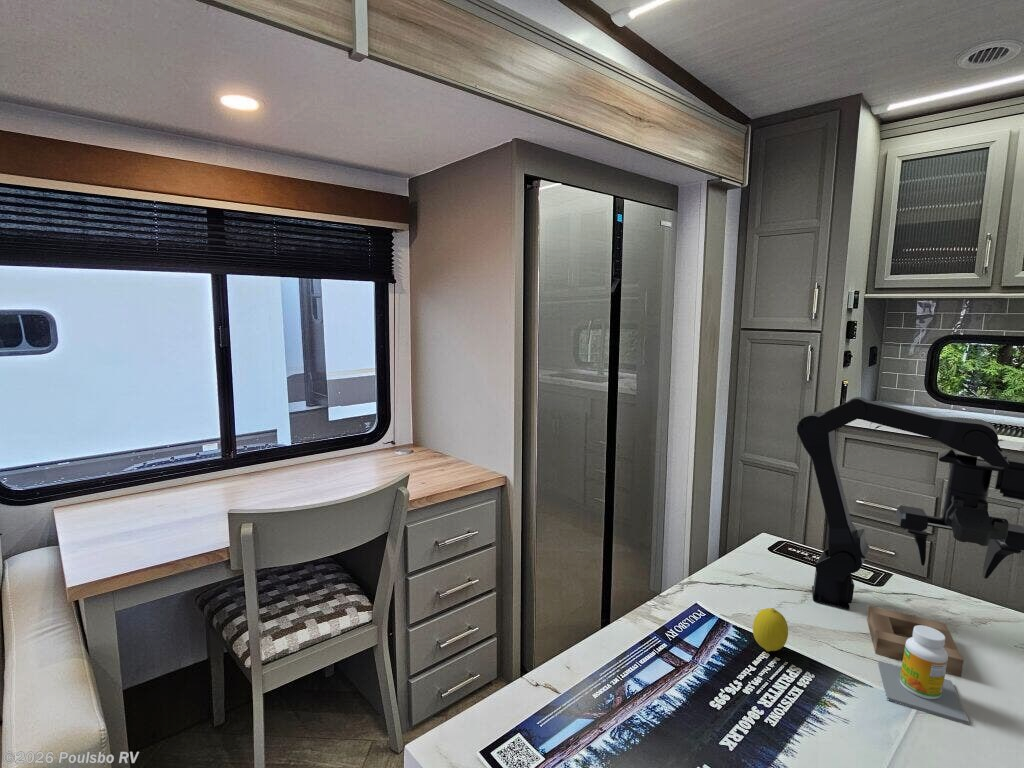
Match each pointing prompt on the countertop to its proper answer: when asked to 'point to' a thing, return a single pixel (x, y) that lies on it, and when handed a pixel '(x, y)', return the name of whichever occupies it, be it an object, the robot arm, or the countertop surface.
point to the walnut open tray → (893, 645)
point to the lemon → (770, 629)
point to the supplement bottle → (924, 663)
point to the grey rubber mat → (942, 706)
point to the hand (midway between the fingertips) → (952, 571)
